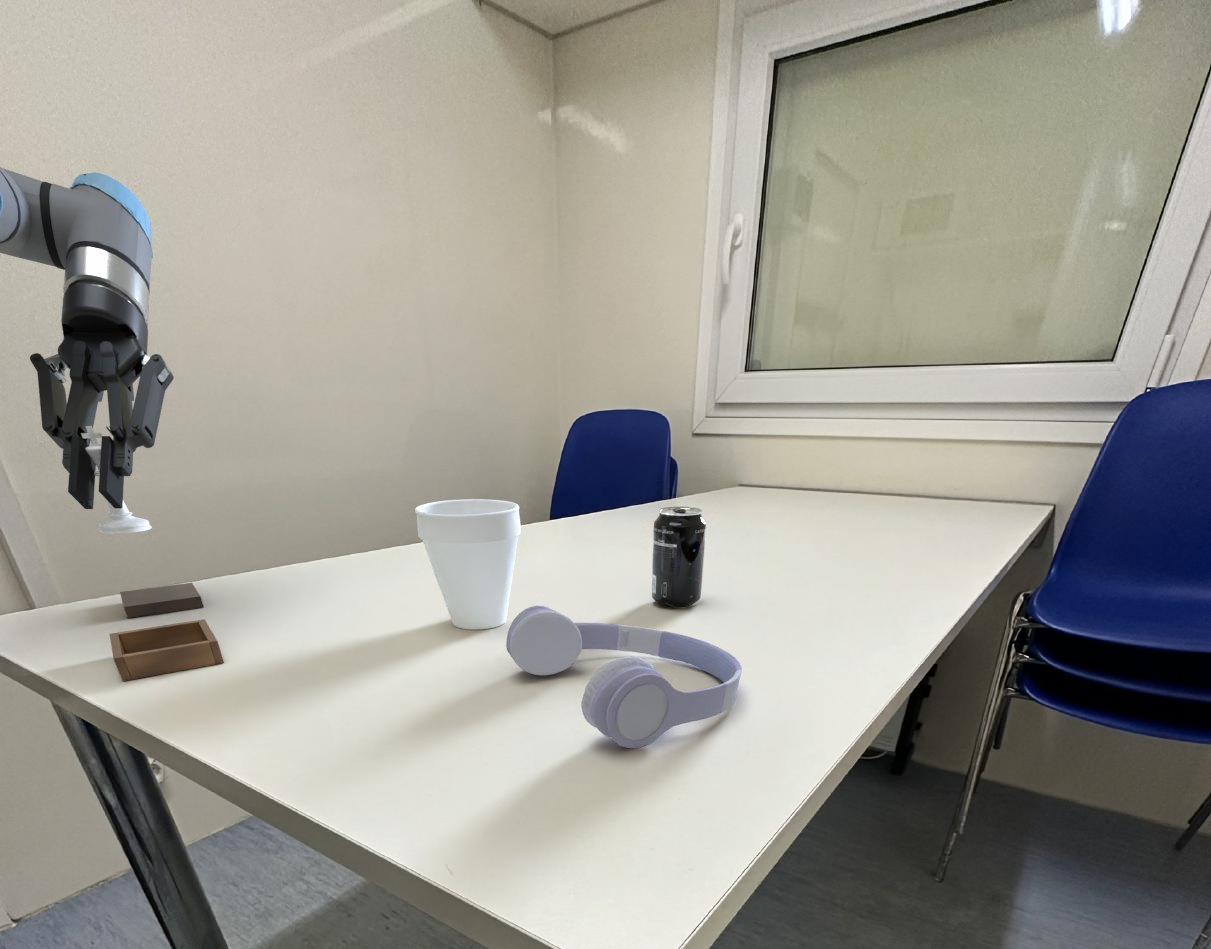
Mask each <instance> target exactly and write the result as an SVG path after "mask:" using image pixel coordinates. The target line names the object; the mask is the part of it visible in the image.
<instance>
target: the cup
mask: <svg viewBox="0 0 1211 949" xmlns="http://www.w3.org/2000/svg"><path fill="white" fill-rule="evenodd" d="M414 514H416V524H417V525H416V526H417V537H418V538H419V539H420V540H422V544H423V546H424V549H425V552H426V555H427V556H428V560H429V562H430V565H431V568H432V570H433V572H434V576H435V579H436V581H437V584H438V587H439V590H440V592H441V595H442V598H443V601H444V603H445V605H446V608H447V611H448V614H449V616H450V620H451V622H452V625H453V626H455V627H456V628H459V629H462V630H463V629H464V630H471V631H473V630H477V631H479V630H488V629H494V628H497V627H500V626H502V625H504V624H505V623H506V622H507V616H508V610H509V602H510V596H511V590H512V583H513V577H514V576H513V575H514V569H515V561H516V555H517V548H518V540H519V536H520V535H521V534H522V525H521V516H520V506H519V504H518V503H516V502H514V501H508V500H502V499H490V498H488V499H486V498H467V499H465V498H464V499H449V500H448V499H447V500H439V501H433V502H427V503H424V504H420V505H418V506H417V507H415V509H414Z"/></svg>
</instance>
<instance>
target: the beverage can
mask: <svg viewBox="0 0 1211 949" xmlns="http://www.w3.org/2000/svg"><path fill="white" fill-rule="evenodd" d="M658 512H659V514H658V517H656V519H655V520H654V521H653V530H652V533H653V534H652V536H653V537H652V562H651V563H652V564H651V598H652V599H653V600H654V601H655V602H656V603H657V604H658V605H659V606H661V607H664V608H669V609H684V608H685V609H686V608H690V607H691V606H693V605H694V604H696V603H697V602H698V601H700V599H701V597H702V588H703V575H704V573H703V572H704V560H705V548H706V534H707V533H706V532H707V521H705V519H704V518H703V516H702V513H703V509H702V508H699V507H694V506H667V507H662V508H659V509H658Z"/></svg>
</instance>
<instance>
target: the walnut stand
mask: <svg viewBox="0 0 1211 949" xmlns="http://www.w3.org/2000/svg"><path fill="white" fill-rule="evenodd" d="M119 595H120V598H121V602H122V606H123V609H124V612H125V615H126V617H127V619H133V618H141V617H147V616H154V615H161V614H168V613H174V612H182V611H188V610H194V609H203V608H204V607H205V606H204V603H203V600H202V599H203V598H202V597H201V594H200V593H199V592H198V590H197V588H196V587H195V585H194V584H193V582H187V583H178V584H171V585H164V586H163V585H162V586H156V587H155V586H154V587H148V588H139V589H133V590H125V591H120V592H119Z"/></svg>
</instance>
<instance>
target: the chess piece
mask: <svg viewBox="0 0 1211 949" xmlns="http://www.w3.org/2000/svg"><path fill="white" fill-rule="evenodd" d="M86 429H87V432H88V433H81V435H82V438H84V439H85V438H90V445H89V446H88V447H86V448H85V450H86V452H87V453H88V454H89V456H90V457H91V458H92V460H93V461H94V463H95V464H96V468H97V470H96V471H95V472H94V473H95V474H94V475H95V477H99V475H100V458H101V444H99V442H98V440H97V439H102V436H103V434H102V432H94V427H93V428H92V426H86ZM107 502H108V501H107ZM108 507H109V513H108V514H107V516H109V517H110V518H108V519H106V520H102V522H99V523H98V528H99V533H100V534H103V535H126V534H135V533H141V532H146V531H150V530H151V529H152V525H151V524H150V521H149V520H148V519H146V518H142V517H137V516H134V515H133V512H131V511H130V510H129V508H128V507H127V505H126V503H125V501H124V500H123V507H122V508H117V509H115V508H114V507H113V506H112V505H111V504H110V503H109V502H108Z"/></svg>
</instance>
